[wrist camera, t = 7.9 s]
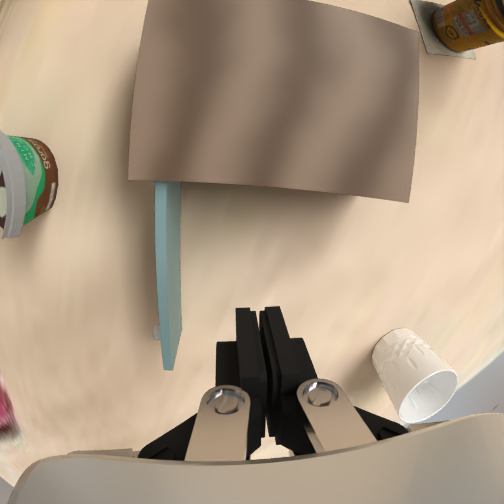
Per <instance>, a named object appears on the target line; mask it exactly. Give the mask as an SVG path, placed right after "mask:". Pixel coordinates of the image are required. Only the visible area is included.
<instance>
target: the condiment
mask: <svg viewBox="0 0 504 504" xmlns="http://www.w3.org/2000/svg"><path fill="white" fill-rule="evenodd" d="M411 3H412V7H413V10H414V13H415V15H416V19H417V22H418V25H419V28H420V31H421V34H422V37H423V41H424V44H425V47H426V50H427V53H430V54H442V55H450V56H457V57H464V58H471V59H476V57H475V54H474V50H473V49H476V48H479V47H483V46H486V45H490V44H495V43H498V42H503V41H504V0H455V1H454V2H452V3H450V4H447V5H441V4H437V3H433V2H427V1H421V0H411ZM434 37H435V38H436V39H435V38H434ZM437 40H438V41H437Z"/></svg>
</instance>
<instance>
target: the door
mask: <svg viewBox="0 0 504 504" xmlns="http://www.w3.org/2000/svg"><path fill="white" fill-rule="evenodd" d="M180 214H181V181H155V249H156V277H157V296H158V312H159V325H154V329H153V337H154V340H161V348H162V358H163V367H164V370H172V371H173V367H174V362H175V358H176V353H177V349H178V345H179V340H180V336H181V332H182V316H181V279H180Z"/></svg>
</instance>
